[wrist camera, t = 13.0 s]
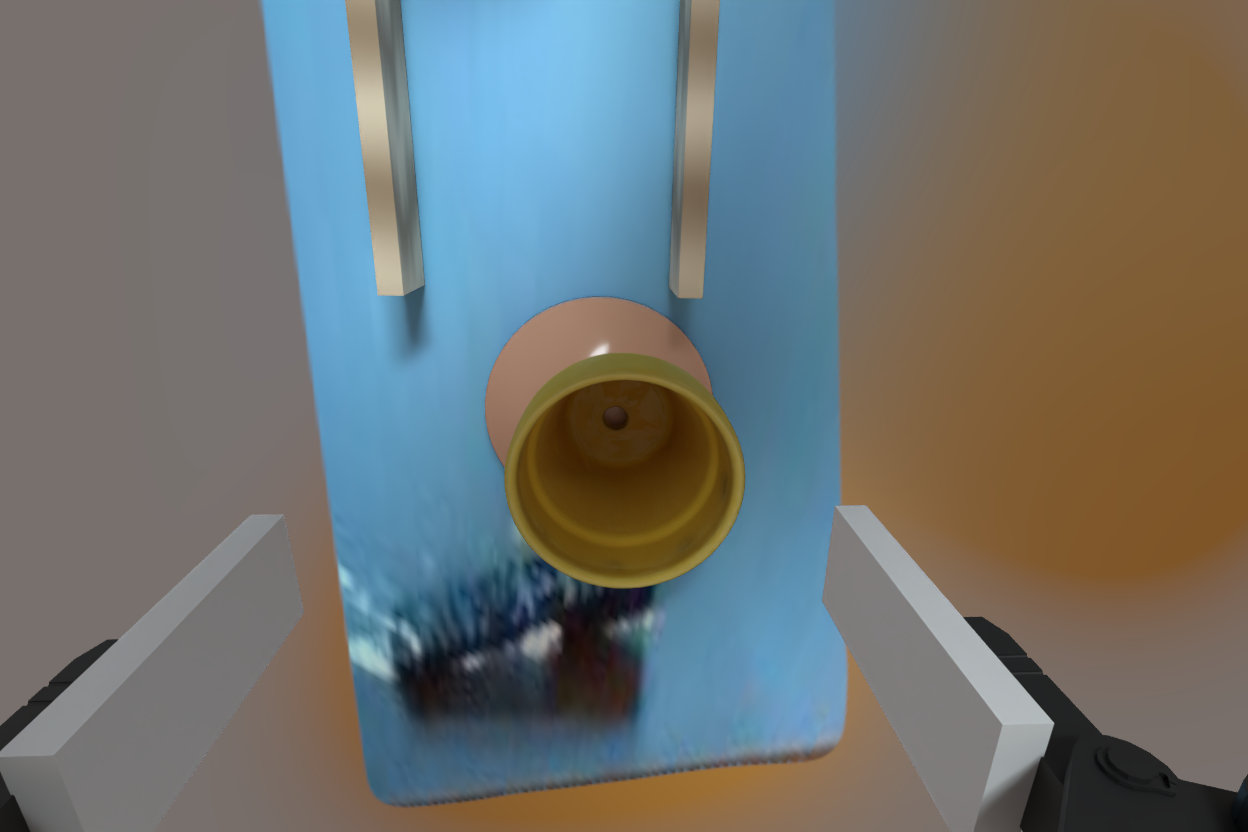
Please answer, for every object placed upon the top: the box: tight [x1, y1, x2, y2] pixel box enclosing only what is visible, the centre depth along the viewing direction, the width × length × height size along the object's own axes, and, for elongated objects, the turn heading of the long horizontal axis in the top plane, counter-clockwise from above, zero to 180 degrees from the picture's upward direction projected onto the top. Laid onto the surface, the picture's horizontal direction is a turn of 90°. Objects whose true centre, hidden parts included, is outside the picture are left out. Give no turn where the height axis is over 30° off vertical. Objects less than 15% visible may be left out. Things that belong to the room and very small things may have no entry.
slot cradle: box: [345, 0, 720, 298], centre depth 28 cm, size 22×16×4 cm
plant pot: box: [504, 353, 745, 588], centre depth 31 cm, size 10×10×10 cm
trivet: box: [485, 296, 713, 467], centre depth 36 cm, size 13×13×1 cm
